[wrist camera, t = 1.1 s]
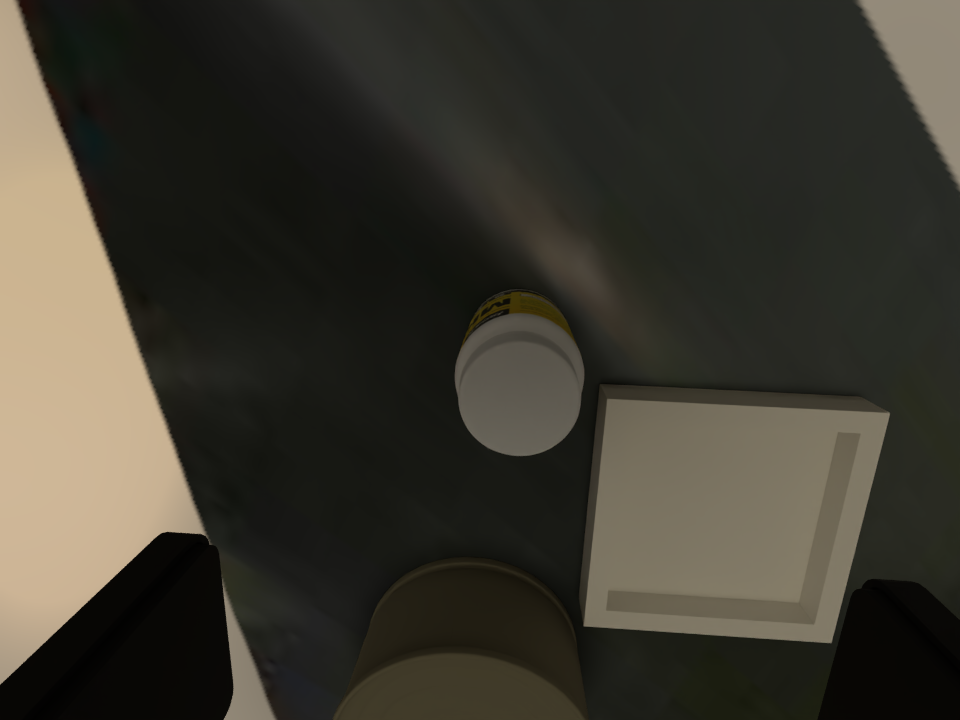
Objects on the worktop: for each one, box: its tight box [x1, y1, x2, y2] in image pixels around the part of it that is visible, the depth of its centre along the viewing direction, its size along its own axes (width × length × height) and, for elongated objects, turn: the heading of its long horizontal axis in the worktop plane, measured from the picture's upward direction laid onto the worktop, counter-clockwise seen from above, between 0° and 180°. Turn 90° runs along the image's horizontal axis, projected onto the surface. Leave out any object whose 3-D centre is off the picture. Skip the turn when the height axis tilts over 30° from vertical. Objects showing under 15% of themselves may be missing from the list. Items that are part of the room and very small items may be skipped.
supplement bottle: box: [455, 289, 584, 456], centre depth 22 cm, size 5×5×8 cm
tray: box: [579, 384, 890, 643], centre depth 26 cm, size 12×12×2 cm
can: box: [333, 557, 589, 720], centre depth 27 cm, size 12×12×7 cm
